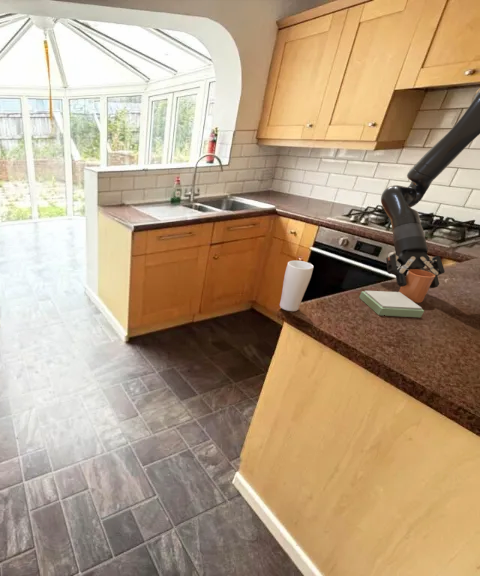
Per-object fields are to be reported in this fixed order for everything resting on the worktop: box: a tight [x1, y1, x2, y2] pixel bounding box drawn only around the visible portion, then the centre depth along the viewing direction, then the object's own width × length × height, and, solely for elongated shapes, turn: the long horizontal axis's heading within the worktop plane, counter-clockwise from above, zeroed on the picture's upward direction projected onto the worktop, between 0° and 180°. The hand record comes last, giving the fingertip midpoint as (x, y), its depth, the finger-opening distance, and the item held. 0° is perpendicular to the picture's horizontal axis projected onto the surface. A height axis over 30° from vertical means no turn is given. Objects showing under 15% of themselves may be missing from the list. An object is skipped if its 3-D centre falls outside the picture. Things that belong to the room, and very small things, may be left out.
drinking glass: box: [279, 260, 314, 312], centre depth 98 cm, size 7×7×15 cm
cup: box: [398, 269, 435, 304], centre depth 103 cm, size 6×6×9 cm
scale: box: [358, 290, 425, 318], centre depth 100 cm, size 11×11×3 cm
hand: (418, 286), depth 101 cm, fingers open, 8 cm apart
